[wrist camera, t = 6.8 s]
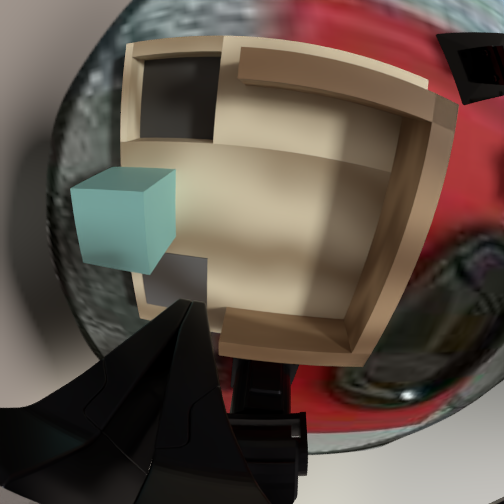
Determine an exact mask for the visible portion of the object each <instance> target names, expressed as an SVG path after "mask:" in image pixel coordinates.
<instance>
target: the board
mask: <svg viewBox="0 0 504 504" xmlns="http://www.w3.org/2000/svg"><path fill="white" fill-rule="evenodd" d="M241 47H254V48H266V49H275V50H283V51H291V52H298V53H304V54H310V55H315V56H320V57H325V58H330V59H334V60H339V61H343V62H347V63H351V64H355V65H358V66H362V67H365V68H369V69H372V70H375V71H379V72H382V73H385V74H388V75H391V76H393V77H396V78H399V79H402V80H404V81H407V82H410V83H412V84H415V85H417V86H420V87H422V88H424V89H427V90H428V80H427V79H425V78H422V77H420V76H418V75H415V74H413V73H410V72H408V71H405V70H403V69H400V68H397V67H394V66H392V65H389V64H386V63H383V62H380V61H377V60H374V59H370V58H367V57H364V56H360V55H357V54H353V53H349V52H345V51H341V50H337V49H332V48H328V47H323V46H318V45H313V44H307V43H301V42H295V41H288V40H280V39H271V38H260V37H245V36H191V37H176V38H165V39H156V40H148V41H141V42H135V43H129V44H127V46H126V54H125V62H124V72H123V84H122V99H121V129H120V149H121V167H143V168H165V169H176V194H175V208H176V237H175V239H174V240H173V241H172V243H171V244H170V246H169V247H168V249H167V250H166V252H165V253H164V255H163V256H162V258H161V259H160V261H159V262H158V264H157V265H156V267H155V268H154V270H153V271H152V273H151V274H150V275H146V274H141V273H135V272H131V273H132V279H133V285H134V290H135V296H136V301H137V306H138V310H139V315H140V318H142V319H146V320H152V319H154V318H155V317H156V316H157V315H159V314H160V313H161V312H163V311H164V310H165V309H166V308H168V307H169V306H170V305H172V304H173V303H174V302H175V301H177V300H178V299H180V298H182V299H188V300H191V301H192V302H193V301H201V302H205V303H206V307H207V314H208V320H209V326H210V331H211V332H217V333H221V330H222V326H223V321H224V317H225V313H226V308H227V307H233V308H240V309H248V310H255V311H264V312H272V313H281V314H290V315H300V316H310V317H321V318H333V319H344V317H345V315H346V312H347V310H348V307H349V305H350V302H351V300H352V297H353V294H354V292H355V289H356V287H357V284H358V281H359V278H360V276H361V273H362V270H363V267H364V264H365V261H366V259H367V256H368V253H369V250H370V247H371V243H372V240H373V237H374V234H375V231H376V227H377V224H378V221H379V217H380V214H381V210H382V207H383V203H384V199H385V195H386V191H387V188H388V184H389V179H390V175H391V171H392V167H393V162H394V157H395V153H396V148H397V143H398V138H399V132H400V126H401V121H402V117H400V116H397V115H394V114H391V113H387V112H384V111H381V110H378V109H374V108H371V107H367V106H363V105H360V104H356V103H352V102H348V101H343V100H339V99H334V98H330V97H325V96H320V95H315V94H309V93H303V92H297V91H291V90H283V89H276V88H267V87H257V86H246V85H245V84H243V83H242V82H241V81H240V80H239V79H238V78H237V77H238V68H239V60H240V51H241Z"/></svg>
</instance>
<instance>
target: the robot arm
mask: <svg viewBox="0 0 504 504" xmlns="http://www.w3.org/2000/svg"><path fill="white" fill-rule="evenodd" d="M298 366H299V364H289V363H278V362H267V361H258V360H250V359H242V358H235V357H233V366H232V377H231V387H232V388H233V395H232V401H231V408H230V413H226V409H225V405H224V401H223V397H222V392H221V388H220V382H219V377H218V372H217V367H216V361H215V356H214V350H213V344H212V338H211V333H210V326H209V320H208V314H207V307H206V303H205V302H201V301H193V302H192V301H191V300H188V299H182V298H180V299H178V300H177V301H175V302H174V303H173V304H172V305H170V306H169V307H168V308H166V309H165V310H164V311H163V312H161V313H160V314H159V315H157V316H156V317H155V318H154V319H152V320H151V321H150V322H148V323H147V324H146V325H145V326H143V327H142V328H141V329H139V330H138V331H137V332H136V333H134V334H133V335H132V336H131V337H129V338H128V339H127V340H125V341H124V342H123V343H122V344H120V345H119V346H118V347H117V348H115V349H114V350H113V351H111V352H110V353H109V354H108V355H106V356H105V357H104V359H101V360H100V361H99V362H98V363H96V364H95V365H94V366H92V367H91V368H90V369H88V370H87V371H85V372H84V373H83V374H81V375H80V376H78V377H77V378H75V379H74V380H72V381H71V382H69V383H68V384H66V385H65V386H63V387H61V388H60V389H58V390H56V391H55V392H53V393H51V394H50V395H48V396H47V397H45V398H43V399H42V400H40V401H38V402H36V403H34V404H32V405H29V406H26V407H20V408H0V504H293V502H294V500H295V499H296V498H297V491H298V490H297V489H298V476H306V475H307V467H308V443H307V425H306V412H300V413H291V384H292V381H293V379H294V376H295V374H296V371H297V369H298ZM292 436H299V437H292ZM151 461H152V462H151ZM150 464H151V465H150ZM149 467H150V469H149ZM146 474H147V475H146ZM490 504H504V497H502V498H500V499H498V500H496V501H494V502H492V503H490Z"/></svg>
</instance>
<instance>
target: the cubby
mask: <svg viewBox="0 0 504 504" xmlns="http://www.w3.org/2000/svg"><path fill="white" fill-rule="evenodd" d="M237 78H238V79H239V80H240V81H241V82H242V83H243V84H245V85H246V86H257V87H267V88H276V89H283V90H291V91H297V92H303V93H309V94H315V95H320V96H325V97H330V98H334V99H339V100H343V101H348V102H352V103H356V104H360V105H363V106H367V107H371V108H374V109H378V110H381V111H384V112H387V113H391V114H394V115H397V116H400V117H402V121H401V126H400V132H399V138H398V143H397V148H396V153H395V157H394V162H393V167H392V171H391V175H390V179H389V184H388V188H387V191H386V195H385V199H384V203H383V207H382V210H381V214H380V217H379V221H378V224H377V227H376V231H375V234H374V237H373V240H372V243H371V247H370V250H369V253H368V256H367V259H366V261H365V264H364V267H363V270H362V273H361V276H360V278H359V281H358V284H357V287H356V289H355V292H354V294H353V297H352V300H351V302H350V305H349V307H348V310H347V312H346V315H345V317H344V319H333V318H321V317H310V316H300V315H290V314H281V313H272V312H264V311H255V310H248V309H240V308H233V307H227V308H226V313H225V317H224V321H223V326H222V330H221V335H220V339H219V355H221V356H227V357H235V358H242V359H250V360H258V361H267V362H278V363H289V364H303V365H320V366H351V367H363V366H364V364H365V362H366V361H367V359H368V357H369V356H370V354H371V352H372V351H373V349H374V347H375V346H376V344H377V342H378V340H379V339H380V337H381V335H382V333H383V331H384V329H385V328H386V326H387V324H388V322H389V320H390V318H391V316H392V314H393V312H394V310H395V308H396V306H397V304H398V302H399V300H400V298H401V296H402V294H403V292H404V290H405V287H406V285H407V283H408V281H409V279H410V276H411V274H412V272H413V269H414V267H415V265H416V262H417V260H418V257H419V255H420V252H421V250H422V247H423V244H424V242H425V239H426V236H427V234H428V231H429V228H430V225H431V222H432V219H433V216H434V213H435V210H436V207H437V204H438V200H439V197H440V193H441V190H442V186H443V183H444V179H445V175H446V171H447V167H448V162H449V158H450V153H451V149H452V144H453V139H454V133H455V127H456V121H457V114H458V107H459V105H458V104H456V103H454V102H452V101H450V100H448V99H446V98H444V97H442V96H440V95H438V94H436V93H433V92H431V91H429V90H427V89H424V88H422V87H420V86H417V85H415V84H412V83H410V82H407V81H404V80H402V79H399V78H396V77H393V76H391V75H388V74H385V73H382V72H379V71H375V70H372V69H369V68H365V67H362V66H358V65H355V64H351V63H347V62H343V61H339V60H334V59H330V58H325V57H320V56H315V55H310V54H304V53H298V52H291V51H283V50H275V49H266V48H254V47H241V51H240V60H239V68H238V77H237Z"/></svg>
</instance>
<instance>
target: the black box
mask: <svg viewBox="0 0 504 504" xmlns="http://www.w3.org/2000/svg"><path fill="white" fill-rule="evenodd" d="M436 37H437V39H438V41H439V43H440V46H441V48H442V50H443V52H444V54H445V57H446V59H447V62H448V64H449V67H450V69H451V72H452V74H453V77H454V80H455V83H456V85H457V88H458V91H459V94H460V97H461V101H462V104H463V105H467V104H470V103H474V102H478V101H482V100H486V99H490V98H495V97H499V96H503V95H504V34H503V33H481V32H468V33H445V34H436Z"/></svg>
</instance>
